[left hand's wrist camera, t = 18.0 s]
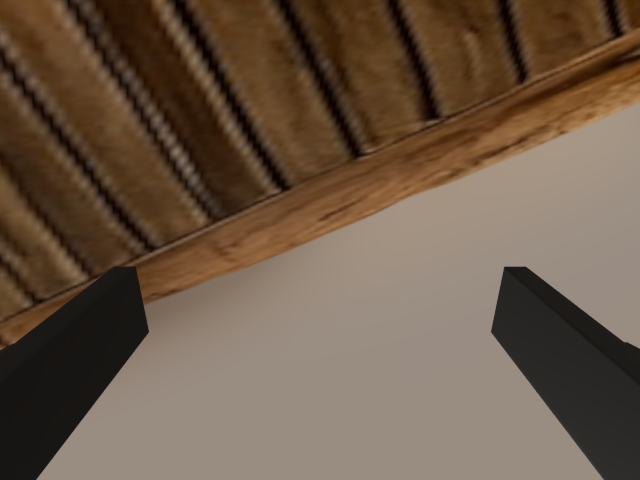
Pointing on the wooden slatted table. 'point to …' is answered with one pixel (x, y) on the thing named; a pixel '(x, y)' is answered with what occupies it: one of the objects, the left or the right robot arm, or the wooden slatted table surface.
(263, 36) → the wooden slatted table surface
